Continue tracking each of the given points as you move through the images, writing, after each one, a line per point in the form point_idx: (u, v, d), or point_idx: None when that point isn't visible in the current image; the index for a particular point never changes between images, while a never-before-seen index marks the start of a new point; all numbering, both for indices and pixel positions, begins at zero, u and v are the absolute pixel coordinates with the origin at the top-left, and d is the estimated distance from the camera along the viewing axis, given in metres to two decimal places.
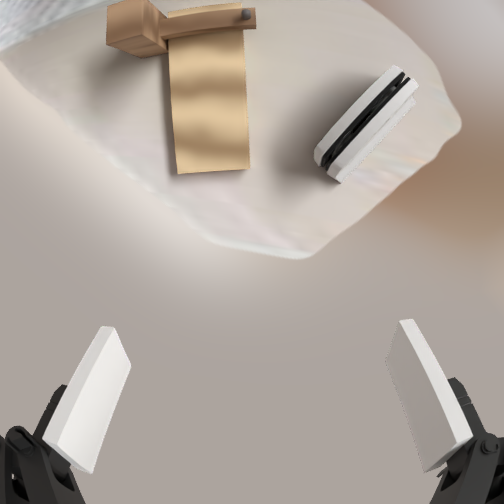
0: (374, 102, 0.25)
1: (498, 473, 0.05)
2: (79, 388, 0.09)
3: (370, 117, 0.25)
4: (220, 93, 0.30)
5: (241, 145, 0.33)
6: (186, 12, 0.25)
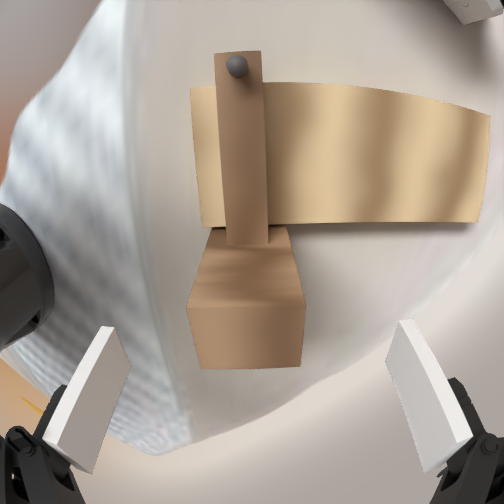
0: None
1: (498, 473, 0.05)
2: (79, 388, 0.09)
3: None
4: (390, 135, 0.16)
5: (465, 118, 0.15)
6: (207, 192, 0.18)
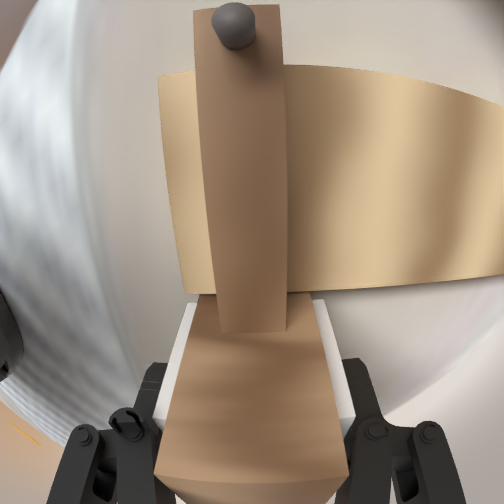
0: None
1: (410, 469, 0.06)
2: None
3: None
4: (466, 160, 0.09)
5: None
6: (190, 245, 0.11)
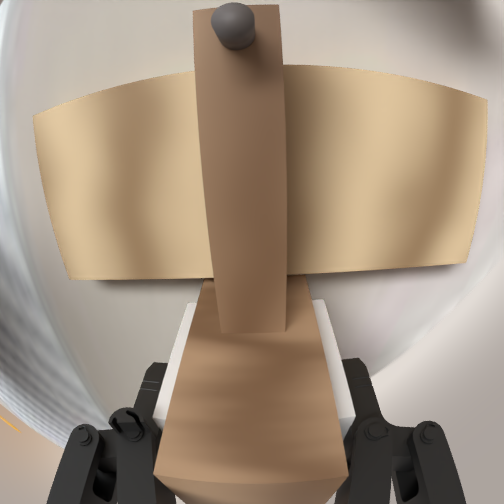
0: None
1: (410, 469, 0.06)
2: None
3: None
4: (305, 138, 0.10)
5: (446, 103, 0.09)
6: (64, 240, 0.12)
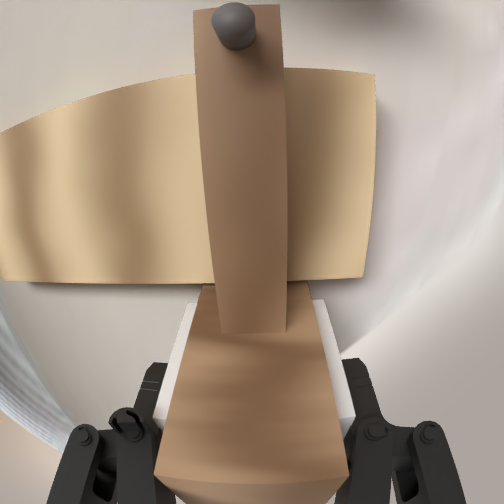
0: None
1: (410, 469, 0.06)
2: None
3: None
4: (135, 155, 0.11)
5: (302, 88, 0.09)
6: None
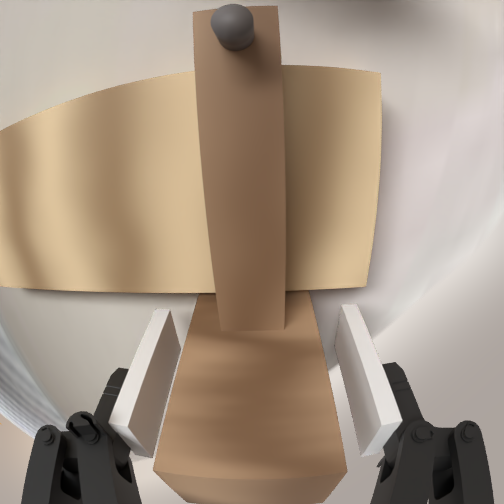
0: None
1: (446, 467, 0.06)
2: (144, 368, 0.10)
3: None
4: (125, 159, 0.10)
5: (303, 87, 0.09)
6: None
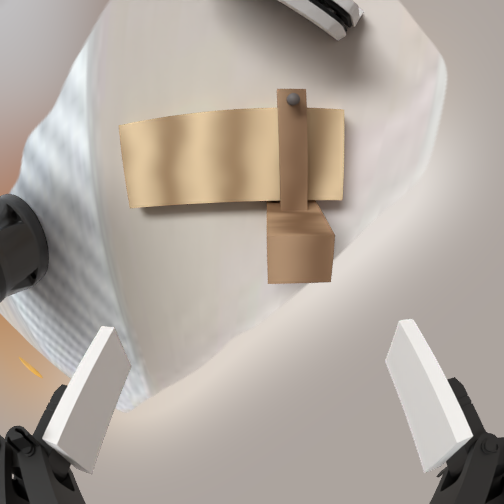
0: None
1: (498, 473, 0.05)
2: (79, 388, 0.09)
3: None
4: (241, 140, 0.25)
5: (313, 116, 0.24)
6: (131, 186, 0.28)
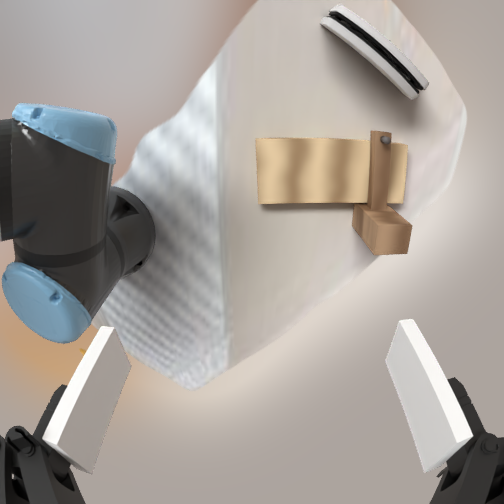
0: (376, 49, 0.25)
1: (498, 473, 0.05)
2: (79, 388, 0.09)
3: (390, 54, 0.24)
4: (346, 161, 0.37)
5: None
6: (262, 187, 0.39)
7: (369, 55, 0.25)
